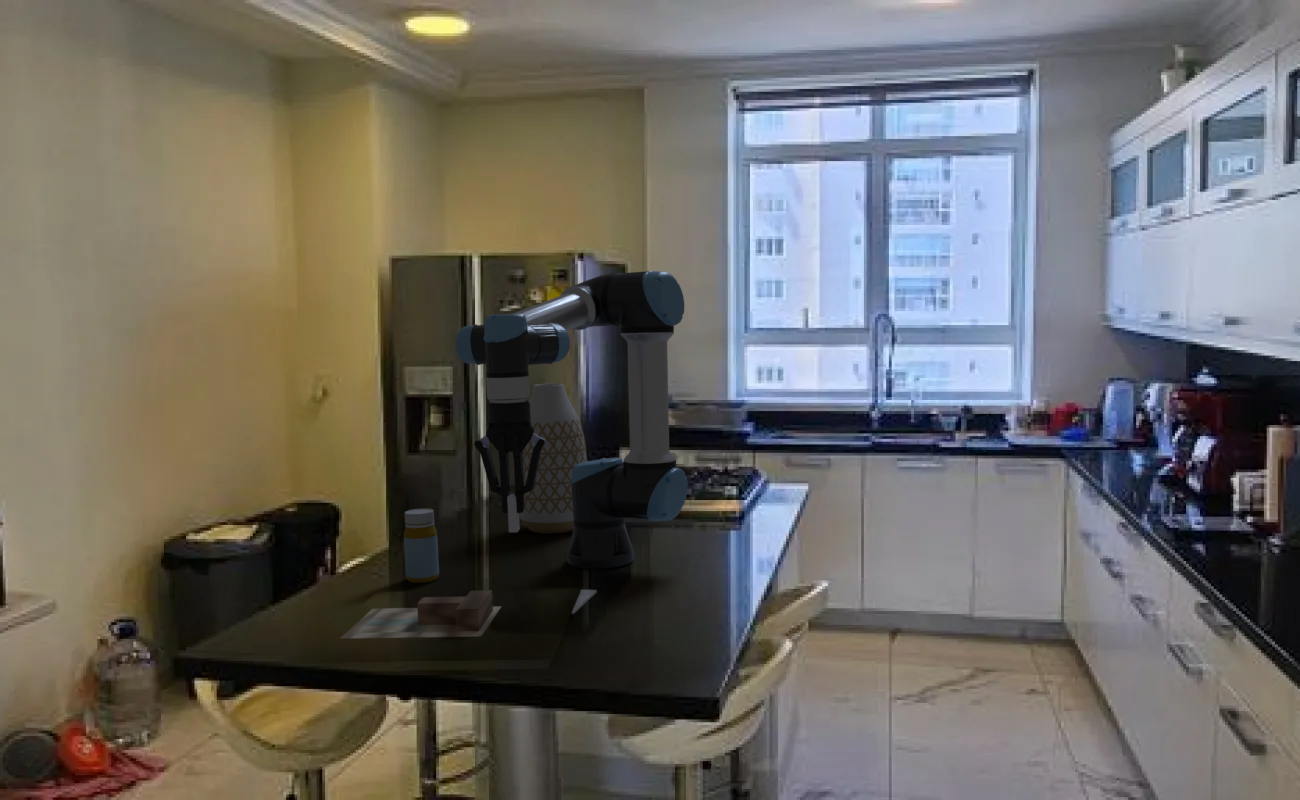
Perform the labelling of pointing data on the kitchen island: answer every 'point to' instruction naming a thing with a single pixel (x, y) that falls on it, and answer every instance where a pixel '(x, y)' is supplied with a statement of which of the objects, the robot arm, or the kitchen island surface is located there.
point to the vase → (552, 461)
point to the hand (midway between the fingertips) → (514, 530)
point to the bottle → (421, 546)
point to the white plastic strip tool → (583, 599)
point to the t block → (457, 610)
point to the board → (406, 625)
